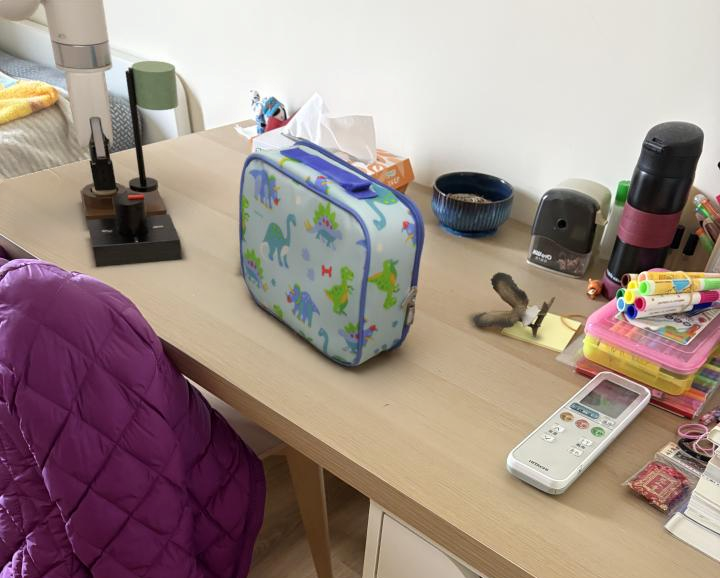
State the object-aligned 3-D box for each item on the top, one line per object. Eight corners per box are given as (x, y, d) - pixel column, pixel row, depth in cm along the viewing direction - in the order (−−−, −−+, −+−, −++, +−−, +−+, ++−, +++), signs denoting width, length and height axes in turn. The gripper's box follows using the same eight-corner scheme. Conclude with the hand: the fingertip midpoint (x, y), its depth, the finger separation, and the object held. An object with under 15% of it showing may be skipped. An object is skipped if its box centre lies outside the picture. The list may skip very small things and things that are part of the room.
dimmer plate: (96, 266, 101) (92, 245, 99) (90, 239, 107) (86, 218, 105) (181, 259, 105) (179, 238, 103) (171, 233, 111) (169, 213, 109)
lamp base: (88, 229, 109) (83, 203, 107) (82, 203, 116) (78, 178, 113) (167, 223, 113) (165, 198, 110) (158, 199, 120) (155, 174, 117)
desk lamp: (132, 195, 110) (114, 72, 99) (127, 181, 114) (109, 61, 103) (188, 192, 113) (178, 71, 101) (182, 177, 117) (171, 60, 105)
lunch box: (420, 359, 90) (446, 191, 76) (355, 387, 84) (370, 212, 70) (297, 275, 104) (300, 120, 89) (234, 295, 98) (226, 133, 84)
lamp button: (95, 204, 110) (93, 193, 109) (92, 195, 113) (90, 184, 112) (119, 203, 112) (117, 192, 110) (116, 194, 114) (114, 183, 113)
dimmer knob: (118, 236, 102) (113, 203, 98) (115, 224, 105) (110, 191, 101) (150, 234, 103) (146, 201, 100) (146, 221, 106) (141, 189, 103)
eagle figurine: (548, 311, 99) (489, 283, 100) (562, 286, 92) (498, 256, 93) (525, 356, 97) (465, 328, 99) (537, 334, 90) (473, 304, 92)
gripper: (50, 41, 103) (76, 172, 115) (56, 69, 93) (84, 209, 105) (105, 41, 105) (124, 169, 117) (116, 68, 95) (136, 205, 107)
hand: (105, 188), depth 111 cm, fingers closed
